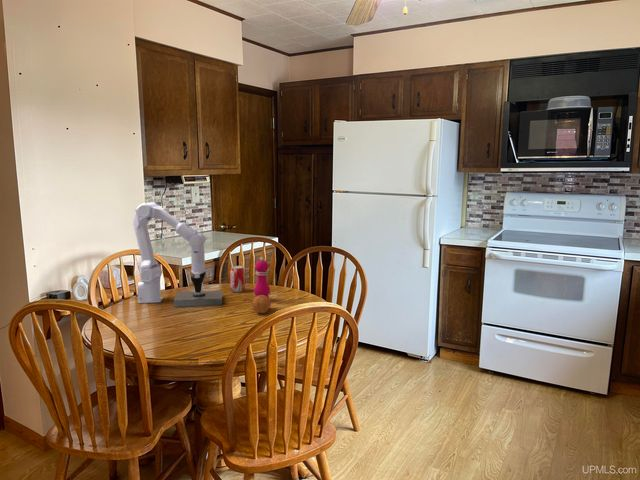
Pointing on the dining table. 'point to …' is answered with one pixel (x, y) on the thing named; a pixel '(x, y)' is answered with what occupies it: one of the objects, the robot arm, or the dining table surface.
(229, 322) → the dining table surface
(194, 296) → the steel peg
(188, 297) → the dock plate
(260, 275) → the pepper mill
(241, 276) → the soda can
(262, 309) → the potato
